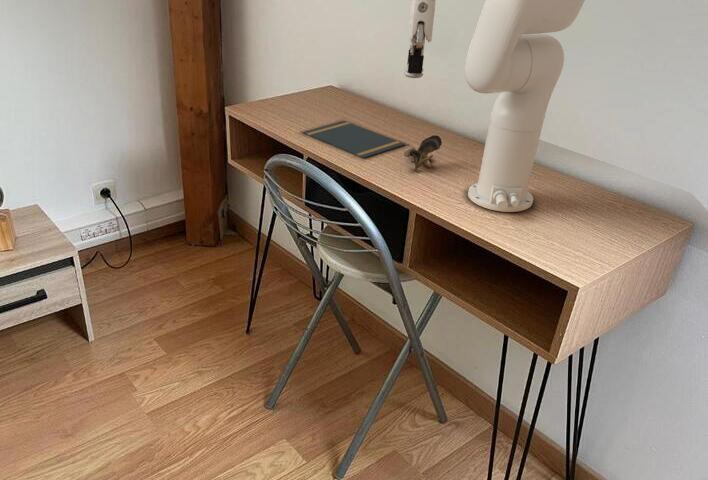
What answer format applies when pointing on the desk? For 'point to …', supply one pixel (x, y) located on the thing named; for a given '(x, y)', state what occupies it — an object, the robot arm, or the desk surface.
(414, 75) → the rook chess piece
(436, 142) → the brown toy squirrel
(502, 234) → the desk surface
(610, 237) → the desk surface
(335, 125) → the placemat
